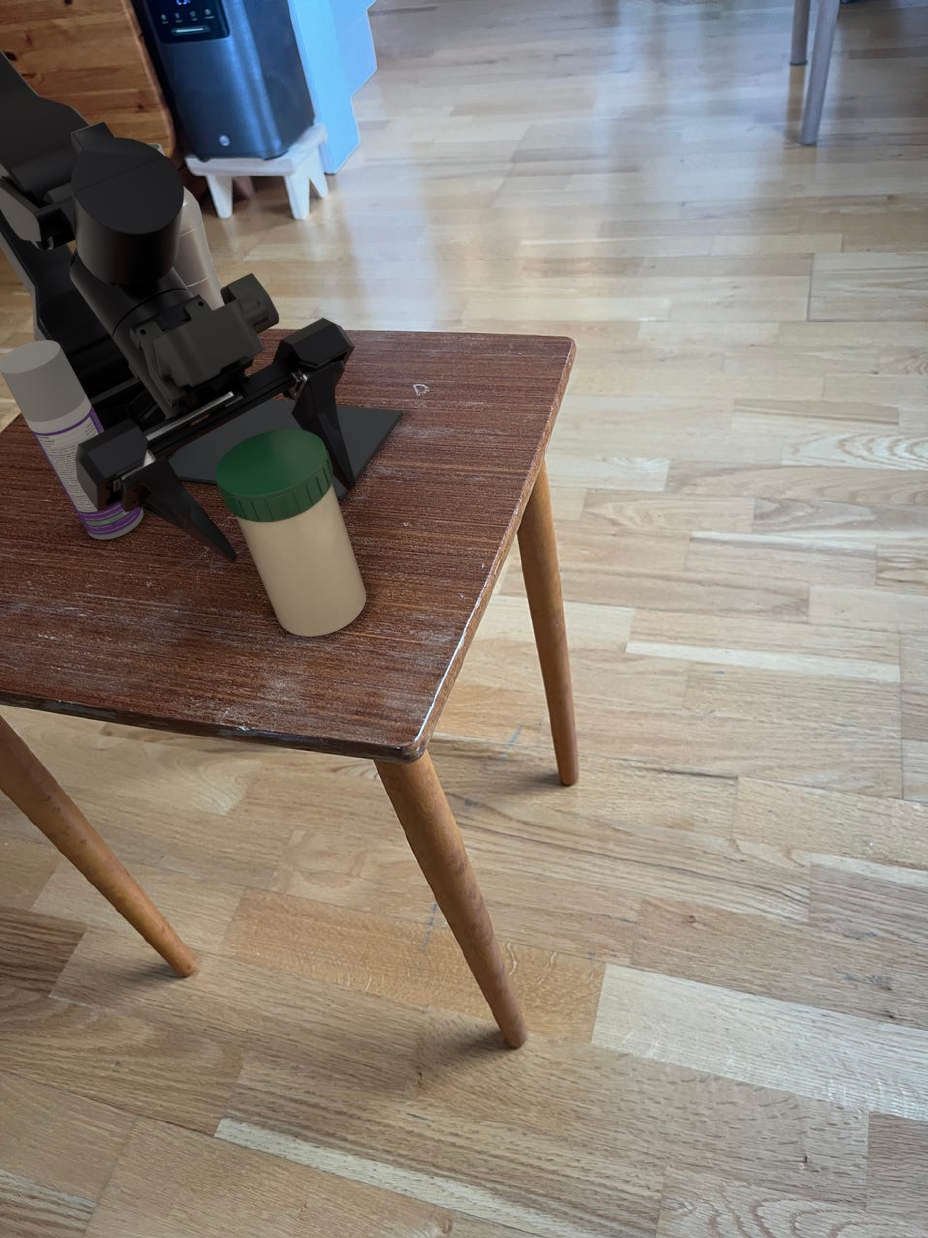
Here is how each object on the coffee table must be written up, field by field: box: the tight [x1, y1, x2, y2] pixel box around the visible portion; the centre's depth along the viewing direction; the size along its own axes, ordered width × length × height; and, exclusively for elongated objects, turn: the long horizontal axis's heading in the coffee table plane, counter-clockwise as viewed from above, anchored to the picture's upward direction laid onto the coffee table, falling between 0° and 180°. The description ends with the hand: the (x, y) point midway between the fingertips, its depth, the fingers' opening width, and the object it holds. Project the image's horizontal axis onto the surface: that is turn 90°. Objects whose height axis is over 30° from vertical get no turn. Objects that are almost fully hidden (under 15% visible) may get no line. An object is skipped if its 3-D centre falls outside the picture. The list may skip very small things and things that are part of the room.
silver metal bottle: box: [147, 142, 224, 310], centre depth 87 cm, size 6×7×20 cm
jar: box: [234, 484, 367, 638], centre depth 62 cm, size 6×6×12 cm
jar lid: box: [215, 429, 334, 522], centre depth 59 cm, size 7×7×2 cm
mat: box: [167, 396, 404, 501], centre depth 82 cm, size 18×12×1 cm, turn 68°
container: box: [0, 340, 144, 540], centre depth 72 cm, size 5×5×15 cm
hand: (295, 523), depth 61 cm, fingers open, 9 cm apart
